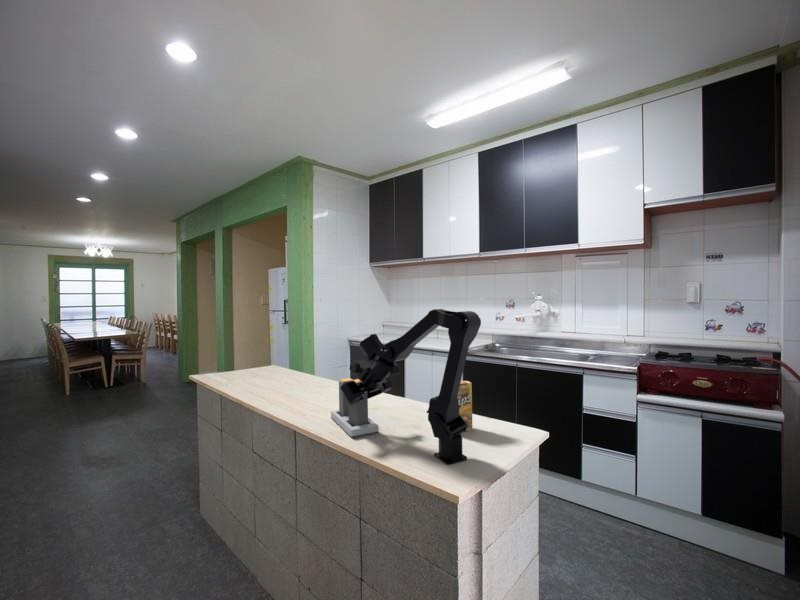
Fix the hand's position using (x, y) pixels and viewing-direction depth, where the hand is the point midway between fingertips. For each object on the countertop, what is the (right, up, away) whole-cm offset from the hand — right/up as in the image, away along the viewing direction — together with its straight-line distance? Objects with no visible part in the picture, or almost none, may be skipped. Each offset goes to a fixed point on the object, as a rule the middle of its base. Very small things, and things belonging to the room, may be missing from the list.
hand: (355, 402), depth 118 cm
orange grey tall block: (+1, -7, -1) cm, 7 cm away
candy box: (+33, -8, -2) cm, 35 cm away
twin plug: (-4, -9, +9) cm, 13 cm away
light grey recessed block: (-1, -9, +4) cm, 10 cm away
